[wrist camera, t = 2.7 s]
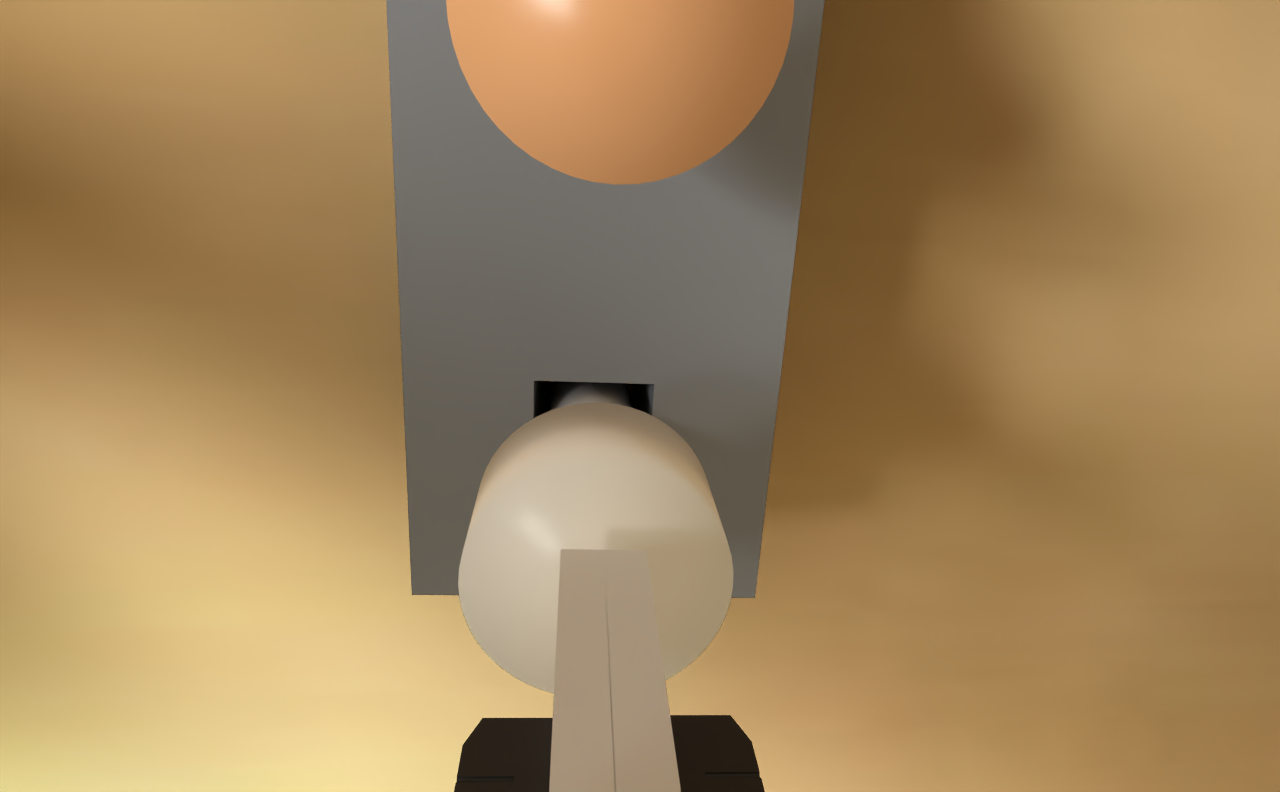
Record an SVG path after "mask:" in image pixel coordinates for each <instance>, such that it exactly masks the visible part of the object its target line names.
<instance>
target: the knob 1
mask: <svg viewBox="0 0 1280 792" xmlns="http://www.w3.org/2000/svg"><path fill="white" fill-rule="evenodd" d="M446 5H447V17H448V23H449V28H450V33H451V38H452V43H453V46H454V49H455V52H456V56H457V59H458V62H459V65H460V68H461V70H462V72H463V74H464V76H465V78H466V80H467V82H468V85H469V87H470V89H471V91H472V92H473V94H474V95H475V97H476V99H477V100H478V102H479V103H480V105H481V107H482V108H483V110H484V111H485V112H486V114H487V115H488V116H489V117H490V118H491V120H492V121H493V122H494V123H495V125H496V126H497V127H498V128H499V129H500V130H501V131H502V132H503V133H504V134H505V135H506V136H507V137H508V138H509V139H510V140H511V141H512V142H513V143H514V144H515V145H517V146H518V147H519V148H521V149H522V150H523V151H525V152H526V153H527V154H529V155H530V156H531V157H533V158H535V159H536V160H538V161H540V162H542V163H543V164H545V165H547V166H549V167H551V168H552V169H555V170H557V171H560V172H562V173H565V174H567V175H570V176H572V177H576V178H580V179H584V180H587V181H591V182H597V183H606V184H614V185H617V184H640V183H647V182H653V181H659V180H662V179H665V178H669V177H672V176H676V175H678V174H681V173H683V172H685V171H687V170H690V169H692V168H694V167H696V166H698V165H700V164H701V163H703V162H705V161H706V160H708V159H710V158H711V157H713V156H715V155H716V154H717V153H718V152H720V151H721V150H722V149H723V148H725V147H726V146H727V145H728V144H730V143H731V142H732V141H733V140H734V139H735V138H736V137H737V136H738V135H739V134H740V133H741V132H742V131H743V130H744V129H745V128H746V127H747V126H748V125H749V123H750V122H751V121H752V119H753V118H754V117H755V115H756V114H757V112H758V111H759V110H760V108H761V107H762V106H763V104H764V102H765V100H766V99H767V97H768V95H769V93H770V92H771V90H772V88H773V86H774V84H775V82H776V79H777V77H778V75H779V72H780V70H781V67H782V65H783V62H784V58H785V55H786V51H787V48H788V45H789V41H790V35H791V29H792V23H793V15H794V0H446Z"/></svg>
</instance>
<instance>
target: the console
mask: <svg viewBox="0 0 1280 792" xmlns="http://www.w3.org/2000/svg"><path fill="white" fill-rule="evenodd" d="M386 1H387V24H388V48H389V71H390V94H391V118H392V141H393V164H394V188H395V211H396V235H397V258H398V281H399V305H400V328H401V351H402V375H403V398H404V421H405V445H406V468H407V491H408V515H409V538H410V561H411V585H412V595H459V588H458V578H459V566H460V561H461V557H462V552H463V548H464V544H465V541H466V537H467V533H468V529H469V525H470V522H471V518H472V514H473V510H474V506H475V502H476V499H477V495H478V491H479V487H480V483H481V480H482V478H483V475H484V472H485V470H486V467H487V466H488V464H489V462H490V460H491V458H492V456H493V455H494V454H495V452H496V451H497V450H498V448H499V447H500V446H501V444H502V443H503V442H504V441H505V440H506V439H507V438H508V437H509V436H510V435H511V434H512V433H513V432H515V431H516V430H517V429H518V428H520V427H521V426H522V425H524V424H525V423H527V422H528V421H530V420H532V419H534V418H535V417H537V416H539V415H541V414H544V413H546V412H548V411H551V401H552V394H544V387H545V381H565V382H598V383H631V384H632V390H631V396H630V399H631V405H632V408H634V409H637V410H640V411H643V412H645V413H647V414H649V415H651V416H653V417H655V418H657V419H659V420H661V421H662V422H664V423H665V424H667V425H668V426H669V427H671V428H672V429H673V430H674V431H676V432H677V433H678V434H679V435H680V436H681V437H682V438H683V439H684V440H685V441H686V443H687V444H688V445H689V446H690V447H691V448H692V450H693V452H694V453H695V455H696V456H697V458H698V460H699V461H700V464H701V466H702V468H703V470H704V473H705V475H706V478H707V481H708V484H709V487H710V490H711V493H712V496H713V499H714V502H715V505H716V508H717V511H718V514H719V517H720V520H721V523H722V526H723V529H724V532H725V535H726V538H727V541H728V545H729V549H730V552H731V556H732V564H733V590H732V595H731V598H755V592H756V584H757V575H758V567H759V558H760V550H761V541H762V532H763V524H764V515H765V507H766V498H767V490H768V481H769V473H770V464H771V455H772V447H773V438H774V430H775V421H776V413H777V404H778V395H779V387H780V378H781V370H782V361H783V353H784V344H785V335H786V327H787V318H788V310H789V301H790V293H791V284H792V276H793V267H794V258H795V250H796V241H797V233H798V224H799V216H800V207H801V198H802V190H803V181H804V173H805V164H806V156H807V147H808V139H809V130H810V121H811V113H812V104H813V96H814V87H815V79H816V70H817V61H818V53H819V44H820V36H821V27H822V19H823V10H824V1H825V0H794V15H793V23H792V29H791V35H790V41H789V45H788V48H787V51H786V55H785V58H784V62H783V65H782V67H781V70H780V72H779V75H778V77H777V79H776V82H775V84H774V86H773V88H772V90H771V92H770V93H769V95H768V97H767V99H766V100H765V102H764V104H763V106H762V107H761V108H760V110H759V111H758V112H757V114H756V115H755V117H754V118H753V119H752V121H751V122H750V123H749V125H748V126H747V127H746V128H745V129H744V130H743V131H742V132H741V133H740V134H739V135H738V136H737V137H736V138H735V139H734V140H733V141H732V142H731V143H730V144H728V145H727V146H726V147H725V148H723V149H722V150H721V151H720V152H718V153H717V154H716V155H715V156H713V157H711V158H710V159H708V160H706V161H705V162H703V163H701V164H700V165H698V166H696V167H694V168H692V169H690V170H687V171H685V172H683V173H681V174H678V175H676V176H672V177H669V178H665V179H662V180H659V181H653V182H647V183H640V184H617V185H614V184H606V183H597V182H591V181H587V180H584V179H580V178H576V177H572V176H570V175H567V174H565V173H562V172H560V171H557V170H555V169H552V168H551V167H549V166H547V165H545V164H543V163H542V162H540V161H538V160H536V159H535V158H533V157H531V156H530V155H529V154H527V153H526V152H525V151H523V150H522V149H521V148H519V147H518V146H517V145H515V144H514V143H513V142H512V141H511V140H510V139H509V138H508V137H507V136H506V135H505V134H504V133H503V132H502V131H501V130H500V129H499V128H498V127H497V126H496V125H495V123H494V122H493V121H492V120H491V118H490V117H489V116H488V115H487V114H486V112H485V111H484V110H483V108H482V107H481V105H480V103H479V102H478V100H477V99H476V97H475V95H474V94H473V92H472V91H471V89H470V87H469V85H468V82H467V80H466V78H465V76H464V74H463V72H462V70H461V68H460V65H459V62H458V59H457V56H456V52H455V49H454V46H453V43H452V38H451V33H450V28H449V23H448V17H447V5H446V0H386Z"/></svg>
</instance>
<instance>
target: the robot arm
mask: <svg viewBox="0 0 1280 792" xmlns="http://www.w3.org/2000/svg"><path fill="white" fill-rule="evenodd" d="M454 792H765V791H764V787H763V783H762V780H761V778H760V775H759V768H758V764H757V761H756V757H755V753H754V749H753V745H752V742H751V740H750V739H749V738H748V737H747V735H746V734H745V733H744V732H743V730H742V729H741V728H740V727H739V725H738V724H737V723H736V722H735V721H734V719H733V718H732V717H731V716H730V715H670V711H669V704H668V697H667V690H666V683H665V676H664V669H663V662H662V655H661V648H660V641H659V634H658V627H657V620H656V613H655V606H654V599H653V592H652V585H651V578H650V571H649V564H648V557H647V550H585V549H561V556H560V576H559V597H558V618H557V639H556V660H555V681H554V702H553V718H482V720H481V721H480V723H479V724H478V725H477V727H476V728H475V729H474V731H473V732H472V733H471V735H470V736H469V737H468V739H467V740H466V742H465V743H464V744H463V747H462V752H461V758H460V763H459V769H458V774H457V783H456V785H455V790H454Z"/></svg>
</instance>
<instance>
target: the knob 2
mask: <svg viewBox="0 0 1280 792" xmlns="http://www.w3.org/2000/svg"><path fill="white" fill-rule="evenodd" d="M561 549H585V550H647V557H648V564H649V571H650V578H651V585H652V592H653V599H654V606H655V613H656V620H657V627H658V634H659V641H660V648H661V655H662V662H663V669H664V676H665V680H667V679H669V678H671V677H673V676H674V675H676V674H677V673H678V672H680V671H681V670H683V669H684V668H686V667H687V666H688V665H689V664H690V663H692V662H693V661H694V660H695V659H696V658H697V657H698V656H699V655H700V654H701V653H702V652H703V651H704V650H705V649H706V647H707V646H708V645H709V644H710V643H711V641H712V640H713V638H714V637H715V635H716V634H717V632H718V631H719V629H720V627H721V625H722V623H723V621H724V619H725V616H726V613H727V610H728V607H729V604H730V601H731V595H732V590H733V564H732V556H731V552H730V549H729V545H728V541H727V538H726V535H725V532H724V529H723V526H722V523H721V520H720V517H719V514H718V511H717V508H716V505H715V502H714V499H713V496H712V493H711V490H710V487H709V484H708V481H707V478H706V475H705V473H704V470H703V468H702V466H701V464H700V461H699V460H698V458H697V456H696V455H695V453H694V452H693V450H692V448H691V447H690V446H689V445H688V444H687V443H686V441H685V440H684V439H683V438H682V437H681V436H680V435H679V434H678V433H677V432H676V431H674V430H673V429H672V428H671V427H669V426H668V425H667V424H665V423H664V422H662V421H661V420H659V419H657V418H655V417H653V416H651V415H649V414H647V413H645V412H643V411H640V410H637V409H634V408H632V405H631V399H630V393H629V387H628V383H598V382H565V381H554V384H553V390H552V401H551V411H548V412H546V413H544V414H541V415H539V416H537V417H535V418H534V419H532V420H530V421H528V422H527V423H525V424H524V425H522V426H521V427H520V428H518V429H517V430H516V431H515V432H513V433H512V434H511V435H510V436H509V437H508V438H507V439H506V440H505V441H504V442H503V443H502V444H501V446H500V447H499V448H498V450H497V451H496V452H495V454H494V455H493V456H492V458H491V460H490V462H489V464H488V466H487V467H486V470H485V472H484V475H483V478H482V480H481V483H480V487H479V491H478V495H477V499H476V502H475V506H474V510H473V514H472V518H471V522H470V525H469V529H468V533H467V537H466V541H465V544H464V548H463V552H462V557H461V561H460V566H459V578H458V588H459V598H460V603H461V607H462V611H463V615H464V617H465V620H466V622H467V625H468V627H469V629H470V631H471V633H472V634H473V636H474V638H475V639H476V641H477V643H478V644H479V645H480V646H481V648H482V649H483V650H484V651H485V653H486V654H487V655H488V656H489V657H490V658H491V659H492V660H493V661H494V662H495V663H496V664H497V665H498V666H500V667H501V668H502V669H504V670H505V671H506V672H508V673H509V674H511V675H512V676H514V677H515V678H517V679H519V680H521V681H523V682H524V683H526V684H528V685H531V686H533V687H536V688H538V689H541V690H543V691H547V692H551V693H554V681H555V660H556V639H557V618H558V597H559V576H560V556H561Z"/></svg>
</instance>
